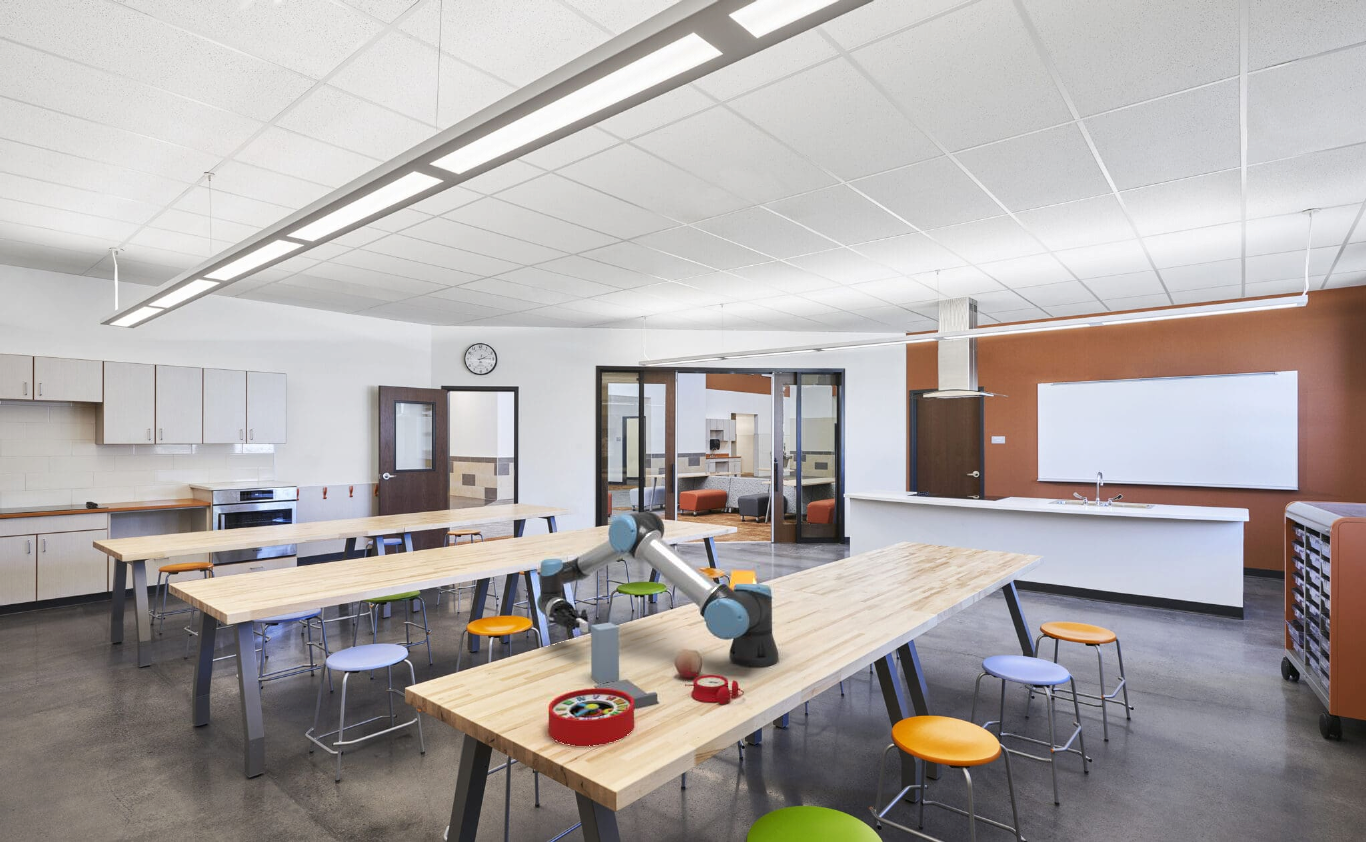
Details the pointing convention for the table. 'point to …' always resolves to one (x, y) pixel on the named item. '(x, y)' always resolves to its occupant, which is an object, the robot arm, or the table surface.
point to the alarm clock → (713, 689)
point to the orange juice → (742, 577)
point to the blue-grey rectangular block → (605, 652)
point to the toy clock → (591, 716)
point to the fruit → (688, 663)
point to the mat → (632, 692)
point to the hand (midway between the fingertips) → (585, 627)
